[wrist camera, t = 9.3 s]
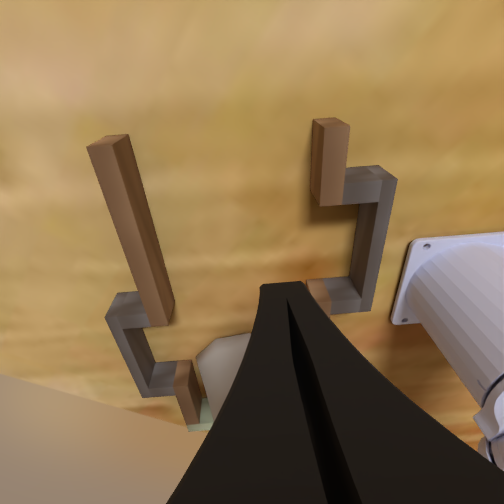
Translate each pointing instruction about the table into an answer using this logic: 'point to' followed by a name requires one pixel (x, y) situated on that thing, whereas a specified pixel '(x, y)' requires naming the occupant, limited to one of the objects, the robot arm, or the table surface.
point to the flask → (221, 367)
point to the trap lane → (155, 275)
